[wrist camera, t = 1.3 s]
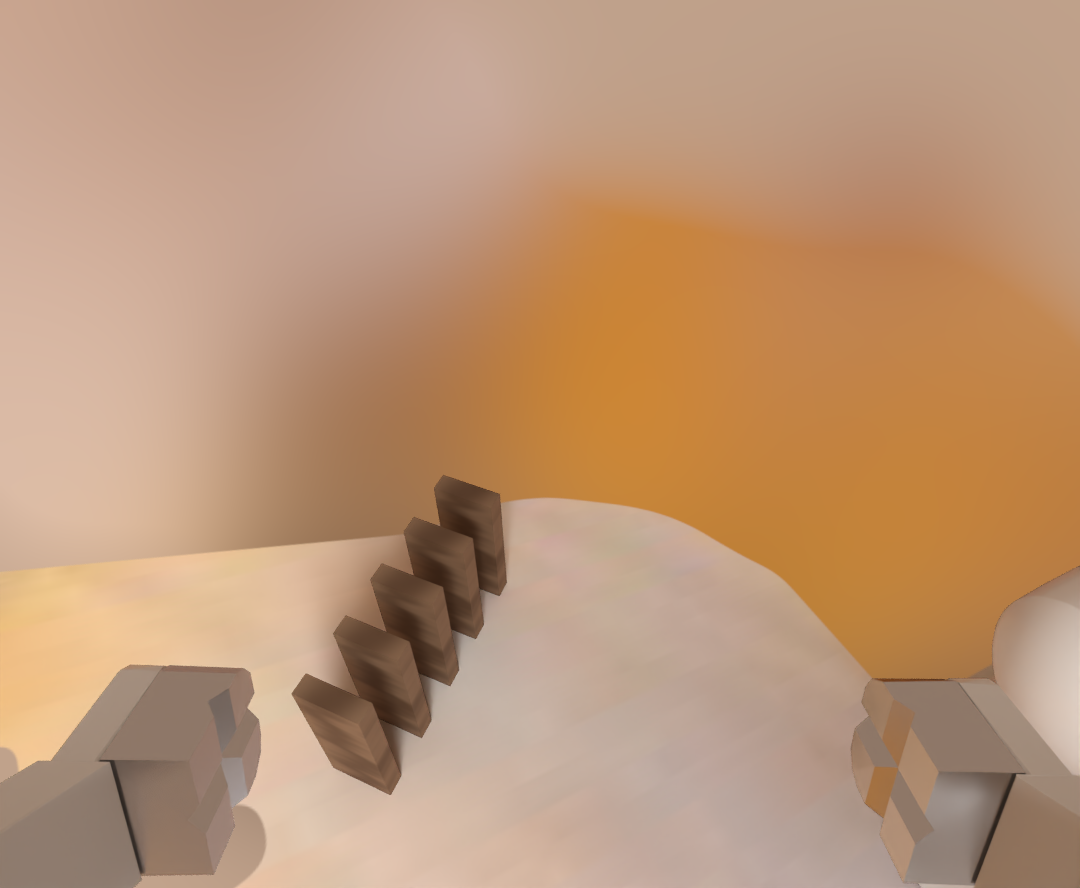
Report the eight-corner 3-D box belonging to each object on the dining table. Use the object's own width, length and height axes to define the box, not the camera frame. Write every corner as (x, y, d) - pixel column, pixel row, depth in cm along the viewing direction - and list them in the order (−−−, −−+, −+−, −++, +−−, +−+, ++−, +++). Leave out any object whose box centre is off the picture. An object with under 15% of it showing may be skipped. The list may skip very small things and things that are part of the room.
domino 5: (401, 775, 67) (372, 703, 56) (390, 795, 66) (358, 724, 55) (344, 749, 69) (305, 673, 58) (333, 767, 68) (291, 693, 57)
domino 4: (431, 720, 70) (409, 641, 59) (421, 738, 69) (397, 661, 58) (376, 696, 72) (345, 615, 61) (366, 712, 71) (333, 633, 60)
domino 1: (506, 582, 81) (499, 494, 70) (499, 595, 80) (491, 507, 69) (457, 564, 82) (443, 474, 71) (449, 577, 81) (433, 488, 70)
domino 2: (483, 624, 77) (472, 538, 66) (475, 639, 76) (463, 553, 65) (432, 604, 79) (413, 516, 68) (424, 618, 78) (403, 531, 67)
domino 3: (458, 670, 74) (442, 587, 63) (450, 686, 73) (432, 604, 62) (406, 648, 76) (381, 563, 65) (396, 663, 74) (370, 579, 63)
